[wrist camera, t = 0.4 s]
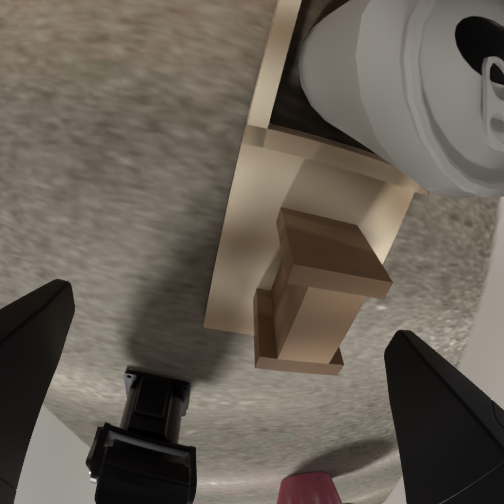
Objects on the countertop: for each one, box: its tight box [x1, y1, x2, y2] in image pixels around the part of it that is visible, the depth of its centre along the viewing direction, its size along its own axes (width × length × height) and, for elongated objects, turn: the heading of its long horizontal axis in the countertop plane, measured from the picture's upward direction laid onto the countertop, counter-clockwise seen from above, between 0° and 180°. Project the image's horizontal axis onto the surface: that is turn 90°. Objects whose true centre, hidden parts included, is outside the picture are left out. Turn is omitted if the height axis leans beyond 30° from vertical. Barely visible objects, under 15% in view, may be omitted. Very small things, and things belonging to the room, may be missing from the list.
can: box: [298, 0, 504, 198], centre depth 10 cm, size 8×8×12 cm
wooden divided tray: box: [203, 0, 430, 375], centre depth 16 cm, size 25×11×7 cm, turn 167°
